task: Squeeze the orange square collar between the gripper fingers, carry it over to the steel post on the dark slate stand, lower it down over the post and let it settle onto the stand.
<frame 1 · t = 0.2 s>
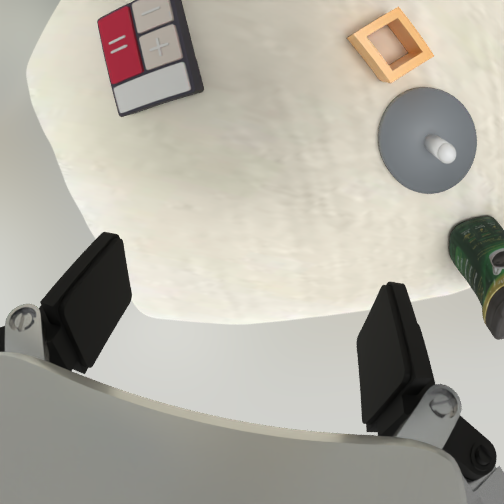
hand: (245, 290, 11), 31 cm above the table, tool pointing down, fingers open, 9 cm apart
post stand: (428, 139, 33), on the table
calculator: (154, 51, 33), on the table
coffee jar: (472, 237, 39), on the table
collar: (384, 46, 28), on the table
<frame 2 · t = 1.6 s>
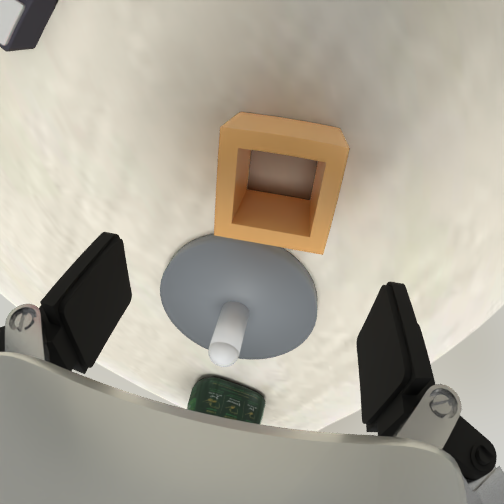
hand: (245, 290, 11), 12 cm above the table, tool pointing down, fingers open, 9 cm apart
post stand: (238, 299, 28), on the table
coffee jar: (229, 392, 39), on the table
collar: (283, 164, 20), on the table
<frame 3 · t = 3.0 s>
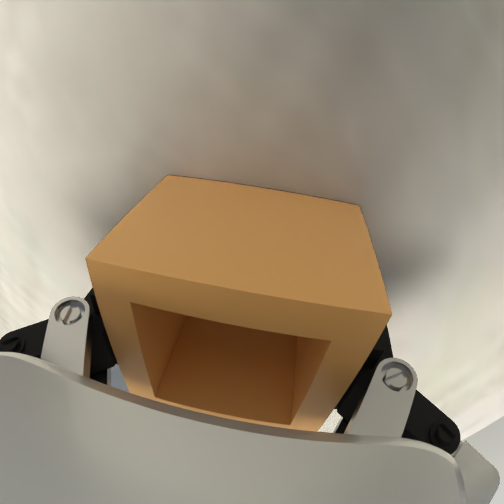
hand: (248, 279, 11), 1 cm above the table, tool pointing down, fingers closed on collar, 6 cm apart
collar: (251, 267, 12), on the table, touching gripper
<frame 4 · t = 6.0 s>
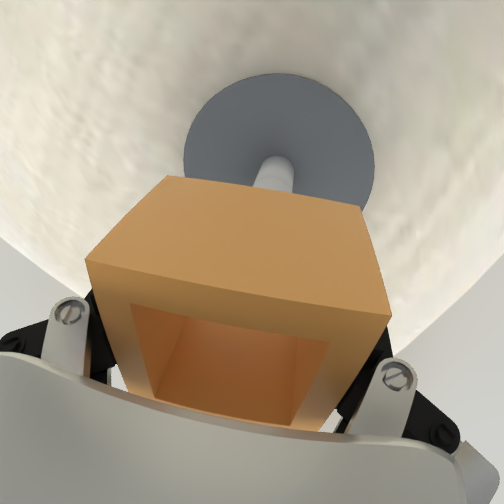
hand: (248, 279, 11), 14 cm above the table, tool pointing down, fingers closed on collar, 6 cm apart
post stand: (278, 165, 23), on the table
collar: (251, 268, 12), point 13 cm above the table, touching gripper
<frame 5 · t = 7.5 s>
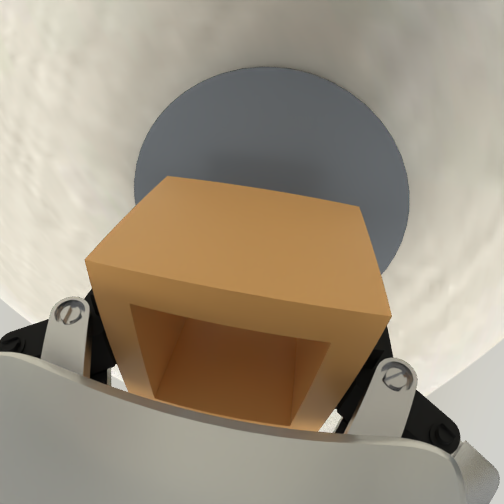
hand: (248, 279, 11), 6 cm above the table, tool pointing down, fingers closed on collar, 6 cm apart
post stand: (269, 202, 16), on the table
collar: (251, 268, 12), point 6 cm above the table, touching gripper
when the fingers open (4 cm above the table, at t = 8.9 s): collar drops 1 cm, resting on post stand.
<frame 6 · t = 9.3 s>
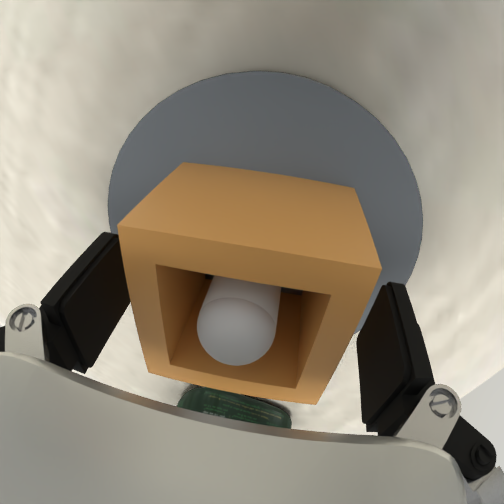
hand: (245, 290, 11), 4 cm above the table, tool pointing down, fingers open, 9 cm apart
post stand: (261, 229, 14), on the table
coffee jar: (235, 408, 25), on the table
collar: (258, 246, 13), point 1 cm above the table, touching post stand
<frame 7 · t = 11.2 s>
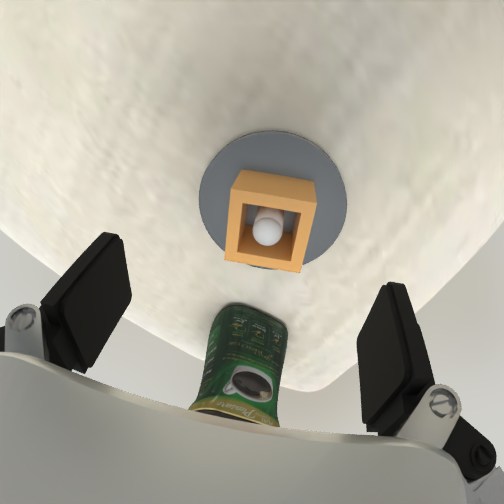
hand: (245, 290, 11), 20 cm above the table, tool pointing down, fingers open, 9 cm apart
post stand: (273, 201, 30), on the table
coffee jar: (250, 327, 40), on the table
collar: (272, 207, 29), point 1 cm above the table, touching post stand
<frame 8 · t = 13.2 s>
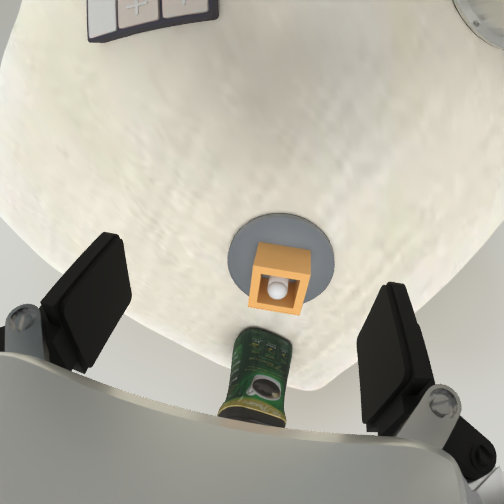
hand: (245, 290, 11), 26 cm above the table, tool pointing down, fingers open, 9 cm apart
post stand: (281, 260, 42), on the table
coffee jar: (264, 343, 52), on the table
collar: (281, 266, 41), point 1 cm above the table, touching post stand
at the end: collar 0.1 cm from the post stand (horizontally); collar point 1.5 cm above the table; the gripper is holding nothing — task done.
